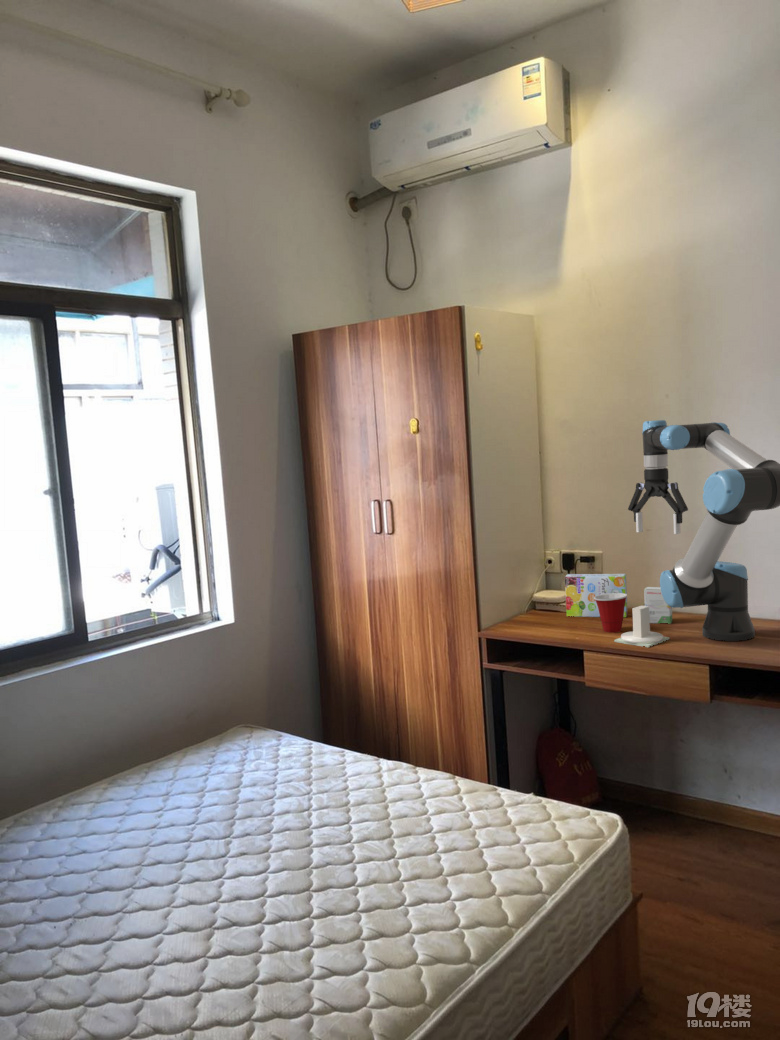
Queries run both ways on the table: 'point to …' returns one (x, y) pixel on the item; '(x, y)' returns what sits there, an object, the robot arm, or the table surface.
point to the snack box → (591, 592)
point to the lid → (641, 628)
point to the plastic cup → (611, 610)
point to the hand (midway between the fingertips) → (658, 532)
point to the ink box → (657, 606)
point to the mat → (641, 644)
